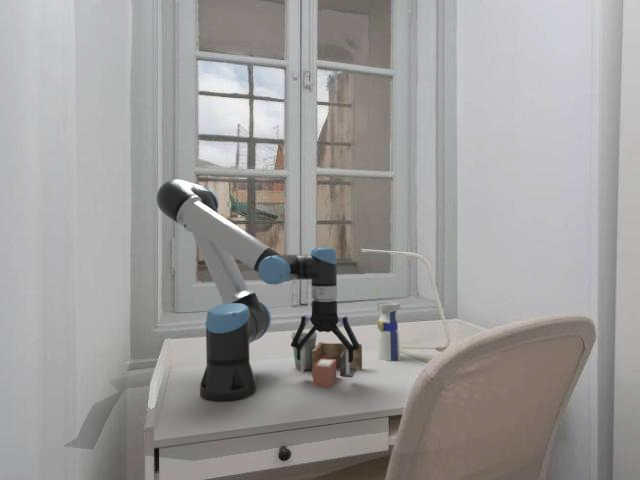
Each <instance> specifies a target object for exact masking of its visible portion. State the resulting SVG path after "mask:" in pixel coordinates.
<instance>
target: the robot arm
mask: <svg viewBox="0 0 640 480" xmlns="http://www.w3.org/2000/svg"><path fill="white" fill-rule="evenodd" d="M156 204H157V206H158V208H159V210H160V211H161V212H162V213H163V214H164V215H165V216H166V217H168V218H169V219H171V220H173V221H174V222H176V223H177V224H178V225H180V226H183V228H184V230H185V231H187V232H188V233H190V234H192V236H193V238H194V241H195V243H196V245H197V247H198V249H199V252H200V254H201V256H202V258H203V260H204V263H205V264H206V267H207V269H208V272H209V274H210V277H211V279H212V281H213V283H214V285H215V287H216V290H217V292H218V294H219V296H220V299H221V300H222V301H221V302H222V303H221V304H218V305H216V306H213V307H211V308H210V309H209V310H208V311H207V313H206V321H205V332H206V333H205V341H206V342H205V343H206V345H205V346H206V347H205V349H206V352H205V353H206V354H205V355H206V363H205V364H206V366H205V369H204V372H203V376H202V378H201V382H200V385H199V396H200V397H202V398H203V399H205V400H208V401H213V402H214V401H215V402H227V401H235V400H240V399H244V398H247V397H249V396H251V395H253V394H255V392H256V390H257V379H256V377H255V374H254V371H253V369H252V365H251V362H250V345H251V344H252V342H254V341H256V340H257V341H258V340H259V339H261V338H262V337H263V336H264V335H265V334H266V333H267V331H269V329H270V326H271V322H272V321H271V320H272V316H271V312H270V309H269V308H268V307H267V305H266V304H265V303H263V302H261V301H259V298H258V296H257V294H256V292H255V291H252V290H250V289H249V288H248V286H247V283H246V282H245V279H244V277H243V275H242V273H241V270H240V268H239V266H238V264H237V262H236V259H237V260H238V261H240V262H241V263H243V264H245V266H247V267H249V268H250V269H252V270H253V271H255V272H256V273H258V275H259V278H260V279H261V280H262V281H263V283H265V284H268V285H275V286H276V285H281V284H283V283H286V282H290V281H293V280H294V281H295V280H296V281H297V280H301V281H302V280H311V281H310V282H311V299H312V301H311V316H309V315H307V314H304V315H302V316H301V317H300V323H299V324H300V325H299V326H298V328H297V329H298V330H297V333H296V335H295V337H294V339H293V341H291V344H290V346H291V347H292V348H293V347H295V348H297V359H298V360H300V365H301V370H300V373H304V372H305V371H306V370H305V348H302V347H303V345H304V344H305V343H306V342H307V340H308V339H309V338H310V337H311V336H312V334H313V333H314V332H315V331H316V332H319V333H322V332H325V333H331V332H332V333H333V334H334V335H335V336H336V337H337V339H338V340H339V341H340V343H343V345H344V346H345V347H346V348H347V351H346V375H349V373H350V362H352V361H353V351H354V350H357V349H358V348H359V344H360V343H359V341H358V339H357V338H356V335H355V333H354V332H353V330H352V327H351V325H350V323H349V317H348V315H345V316H342V317H341V316H340V317H339V315H338V301H337V300H336V299H337V298H338V285H337V284H338V283H337V280H338V278H337V277H338V276H337V274H338V271H337V268H338V267H337V265H338V261H337V252H336V249H335V248H334V247H313V248H311V250H310V253H308V254H286V253H285V254H280V253H278V252H277V251H276V250H275V249H272V248H271V247H269V245H267V244H265V243H263V241H260V240H259V239H258V238H256V237H254V235H251V234H250V233H248V232H247V231H245V230H244V229H242V228H240V227H239V226H238V225H237V224H235V223H233V222H232V221H230V220H228V219H227V218H226V217H224V216H222V215H220V213H219V211H218V208H219V200H218V197H217V195H216V194H215V192H214V191H213V190H212V189H211V188H209V187H207V186H205V185H203V184H199V183H193V182H189V181H186V180H183V179H174V178H173V179H171V180H168V181H166V182H165V183H163V184H162V185H160V188H159V189H158V190H157V193H156ZM309 322H310V323H311V324H312V325H313V326H312V327H311V328H310V329H311V330H310V331H309V332H308V334H307V335H306V336H305V337H304V338H303V340H302V341H301V342H300V343H297V342H298V340H299V338H300V336H301V334H302V332H303V330H304V329H306V328H305V327H306V325H307V324H309ZM338 323H340V324H341V326H343V328H344V331H346V334H347V336H348V338H349V340H348V339H347V337H346V336H345V335H344V334H343V332H342V331H341V329H340V328H339V327H338V326H337V324H338ZM351 344H353V345H351Z"/></svg>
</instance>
